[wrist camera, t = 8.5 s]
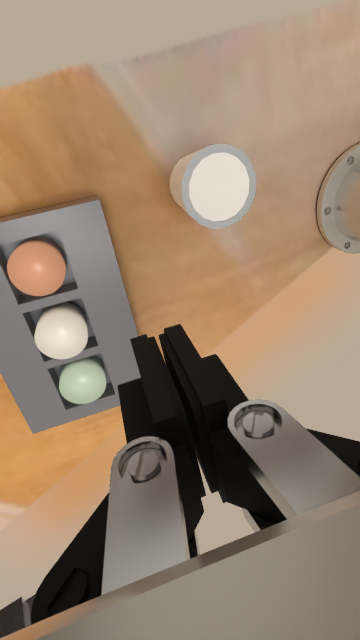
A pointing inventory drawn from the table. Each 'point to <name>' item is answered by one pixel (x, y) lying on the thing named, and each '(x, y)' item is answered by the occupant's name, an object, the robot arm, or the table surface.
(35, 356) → the console
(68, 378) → the sage button
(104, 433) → the table surface
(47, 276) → the terracotta button
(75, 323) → the cream button
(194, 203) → the light grey cup
